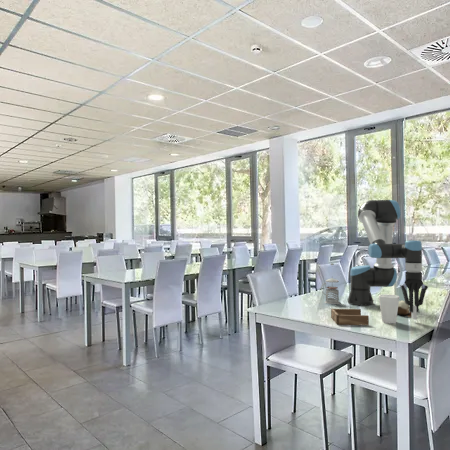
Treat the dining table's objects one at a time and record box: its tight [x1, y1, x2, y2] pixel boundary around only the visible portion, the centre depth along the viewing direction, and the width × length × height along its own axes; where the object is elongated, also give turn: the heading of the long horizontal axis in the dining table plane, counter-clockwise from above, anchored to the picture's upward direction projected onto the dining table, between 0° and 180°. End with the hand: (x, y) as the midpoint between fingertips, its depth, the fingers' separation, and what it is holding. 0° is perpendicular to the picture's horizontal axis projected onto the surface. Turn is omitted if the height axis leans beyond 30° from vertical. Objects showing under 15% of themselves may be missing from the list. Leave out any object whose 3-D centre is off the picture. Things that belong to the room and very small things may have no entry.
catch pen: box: [330, 308, 370, 326], centre depth 197 cm, size 16×15×4 cm
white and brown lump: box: [397, 300, 411, 318], centre depth 212 cm, size 12×10×10 cm
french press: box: [320, 262, 341, 305], centre depth 247 cm, size 10×12×25 cm
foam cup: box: [378, 293, 400, 324], centre depth 195 cm, size 10×9×13 cm
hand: (414, 318), depth 194 cm, fingers closed
